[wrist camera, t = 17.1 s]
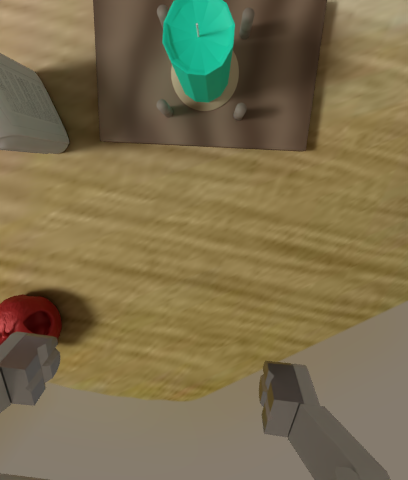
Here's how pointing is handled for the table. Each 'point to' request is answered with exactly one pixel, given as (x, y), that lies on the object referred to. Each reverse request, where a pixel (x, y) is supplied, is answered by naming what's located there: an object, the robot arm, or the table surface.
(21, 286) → the table surface
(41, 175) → the table surface
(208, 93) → the candle
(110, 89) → the candle stand
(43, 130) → the photo printer
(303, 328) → the table surface
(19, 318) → the pomegranate
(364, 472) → the robot arm
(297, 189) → the table surface
